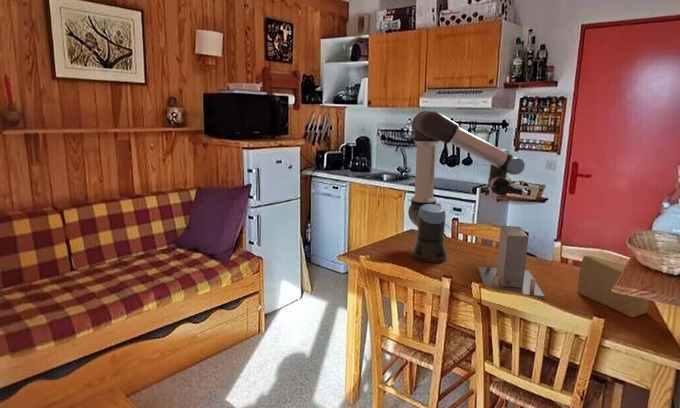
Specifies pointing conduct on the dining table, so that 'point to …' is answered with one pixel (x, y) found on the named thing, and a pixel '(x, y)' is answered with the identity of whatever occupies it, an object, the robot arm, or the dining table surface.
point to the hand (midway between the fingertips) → (508, 194)
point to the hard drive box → (512, 256)
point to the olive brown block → (607, 286)
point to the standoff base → (492, 281)
